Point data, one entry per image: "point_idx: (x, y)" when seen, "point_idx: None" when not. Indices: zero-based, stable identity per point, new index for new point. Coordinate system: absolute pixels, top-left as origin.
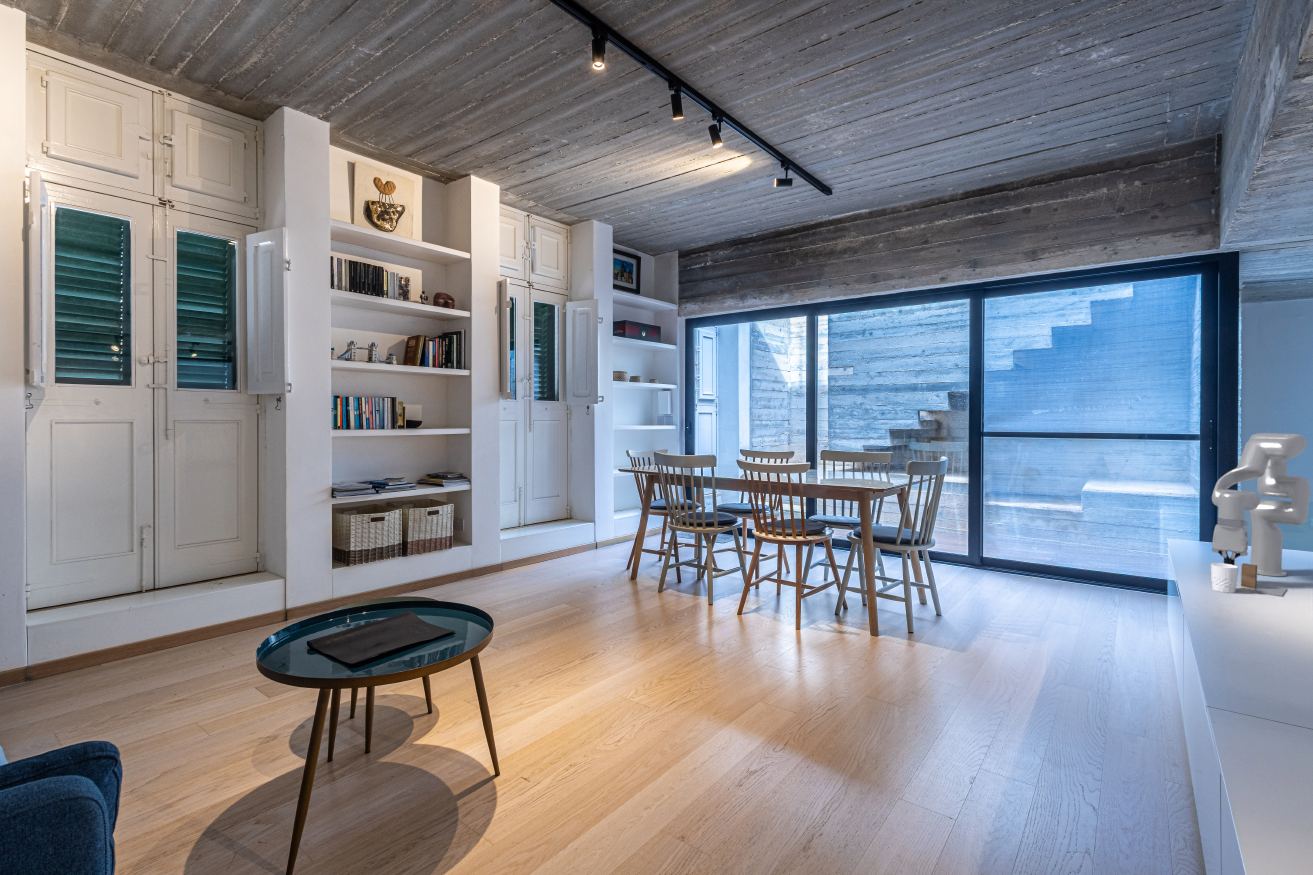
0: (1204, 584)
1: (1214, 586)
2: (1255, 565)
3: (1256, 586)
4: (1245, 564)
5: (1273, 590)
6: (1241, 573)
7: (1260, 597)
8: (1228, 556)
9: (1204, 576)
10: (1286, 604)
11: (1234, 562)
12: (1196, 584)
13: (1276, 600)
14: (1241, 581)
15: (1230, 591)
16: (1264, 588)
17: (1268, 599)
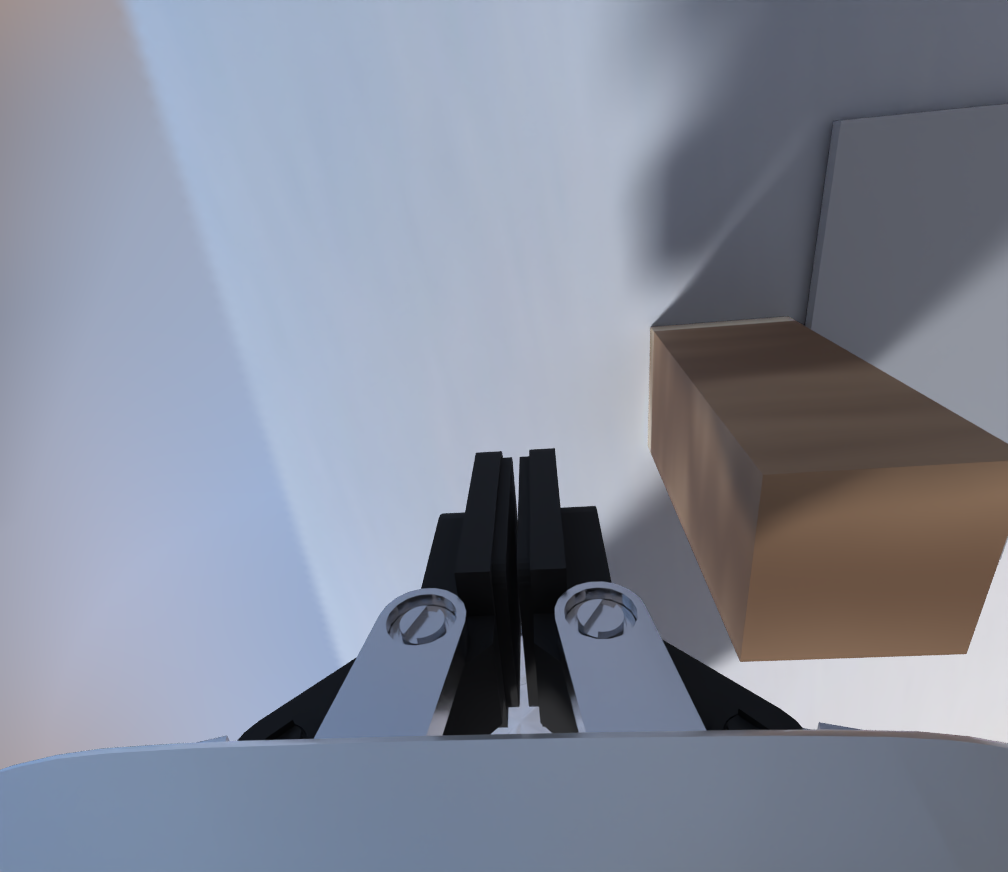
0: (379, 591)
1: None
2: (984, 526)
3: (793, 324)
4: (800, 570)
5: (957, 384)
6: (692, 548)
7: (814, 700)
8: (488, 653)
9: (187, 157)
10: None
11: (604, 550)
12: (340, 639)
13: (921, 707)
14: (666, 481)
15: None
16: (872, 356)
17: (867, 717)
